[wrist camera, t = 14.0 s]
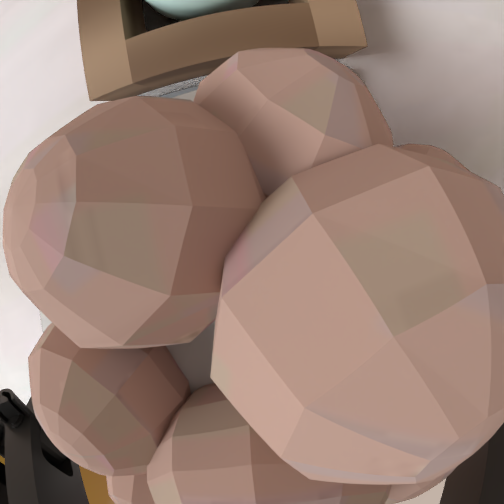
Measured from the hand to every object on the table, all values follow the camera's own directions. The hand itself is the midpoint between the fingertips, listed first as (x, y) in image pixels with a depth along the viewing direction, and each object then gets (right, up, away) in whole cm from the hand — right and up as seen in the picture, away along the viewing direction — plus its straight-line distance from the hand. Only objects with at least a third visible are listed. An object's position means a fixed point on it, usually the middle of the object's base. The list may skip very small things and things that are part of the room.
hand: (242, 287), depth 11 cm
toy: (-1, 0, +1) cm, 1 cm away
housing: (-1, +13, -3) cm, 14 cm away
